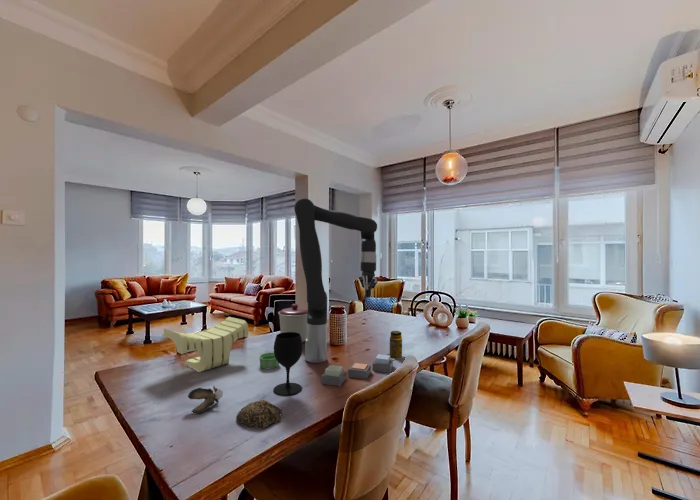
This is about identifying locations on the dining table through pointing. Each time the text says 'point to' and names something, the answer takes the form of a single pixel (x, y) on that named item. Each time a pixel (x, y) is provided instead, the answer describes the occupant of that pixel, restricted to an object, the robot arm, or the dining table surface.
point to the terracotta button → (360, 366)
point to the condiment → (395, 345)
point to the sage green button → (334, 370)
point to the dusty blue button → (383, 359)
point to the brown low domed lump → (259, 414)
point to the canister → (294, 320)
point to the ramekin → (268, 360)
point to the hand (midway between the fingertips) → (367, 297)
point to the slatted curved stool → (210, 343)
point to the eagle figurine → (206, 395)
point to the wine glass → (287, 359)
